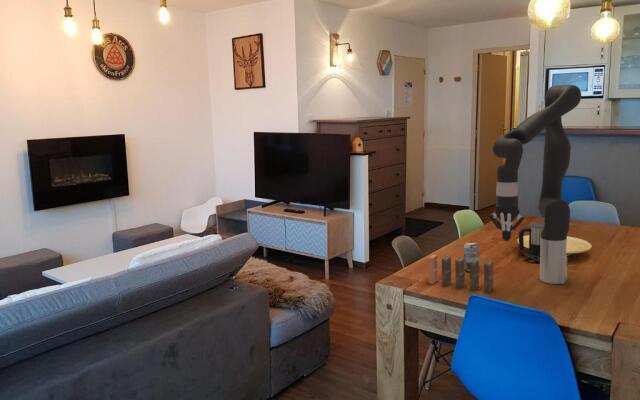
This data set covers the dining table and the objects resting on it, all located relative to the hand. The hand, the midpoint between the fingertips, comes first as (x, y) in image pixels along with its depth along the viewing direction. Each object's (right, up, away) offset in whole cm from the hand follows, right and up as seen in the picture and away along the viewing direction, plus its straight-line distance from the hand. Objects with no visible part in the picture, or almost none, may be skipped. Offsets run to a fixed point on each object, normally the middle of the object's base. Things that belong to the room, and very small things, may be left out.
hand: (506, 240), depth 187 cm
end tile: (-23, -19, +19) cm, 35 cm away
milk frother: (+30, -12, +43) cm, 54 cm away
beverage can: (-4, -16, +31) cm, 35 cm away
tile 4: (-18, -19, +16) cm, 31 cm away
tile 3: (-13, -19, +13) cm, 27 cm away
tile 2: (-9, -19, +10) cm, 24 cm away
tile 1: (-4, -20, +7) cm, 21 cm away
